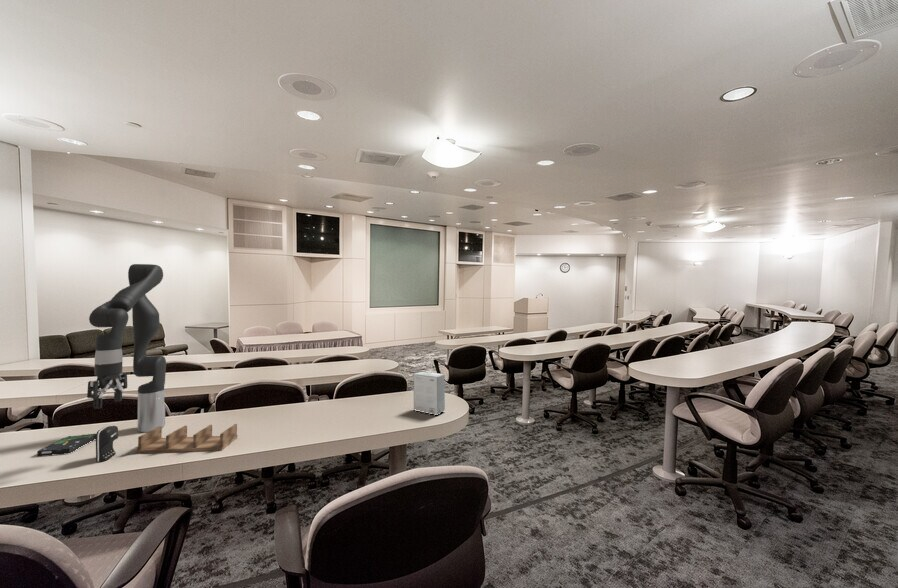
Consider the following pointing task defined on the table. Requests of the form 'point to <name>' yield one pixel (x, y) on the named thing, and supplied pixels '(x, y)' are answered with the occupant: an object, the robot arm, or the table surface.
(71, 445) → the disk drive
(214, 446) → the divider rack
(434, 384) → the hard drive box
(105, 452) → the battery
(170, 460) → the table surface
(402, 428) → the table surface
